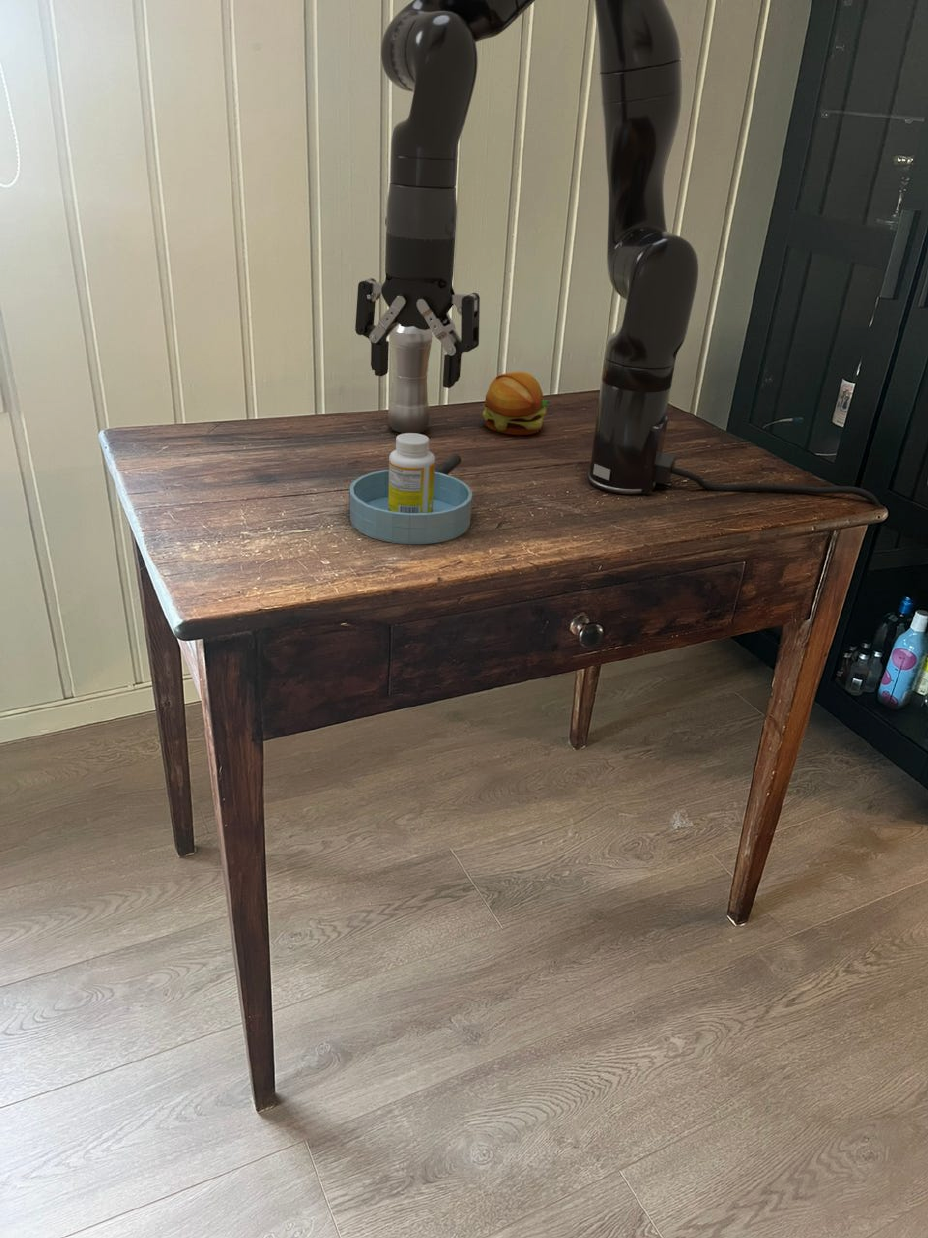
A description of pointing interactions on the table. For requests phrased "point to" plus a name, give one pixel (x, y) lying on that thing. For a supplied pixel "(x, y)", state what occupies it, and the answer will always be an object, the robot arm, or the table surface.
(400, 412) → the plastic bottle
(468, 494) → the pan
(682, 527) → the table surface
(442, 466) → the pan handle
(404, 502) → the supplement bottle
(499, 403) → the cheeseburger
